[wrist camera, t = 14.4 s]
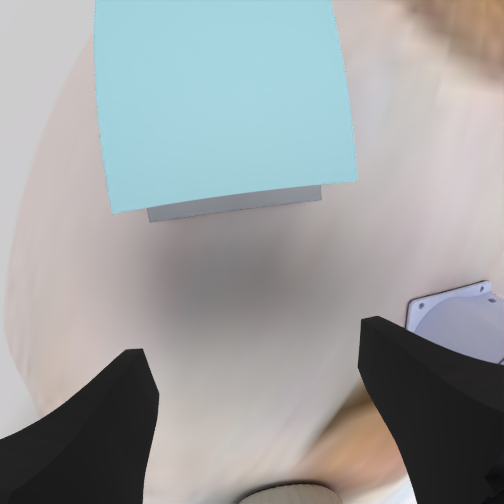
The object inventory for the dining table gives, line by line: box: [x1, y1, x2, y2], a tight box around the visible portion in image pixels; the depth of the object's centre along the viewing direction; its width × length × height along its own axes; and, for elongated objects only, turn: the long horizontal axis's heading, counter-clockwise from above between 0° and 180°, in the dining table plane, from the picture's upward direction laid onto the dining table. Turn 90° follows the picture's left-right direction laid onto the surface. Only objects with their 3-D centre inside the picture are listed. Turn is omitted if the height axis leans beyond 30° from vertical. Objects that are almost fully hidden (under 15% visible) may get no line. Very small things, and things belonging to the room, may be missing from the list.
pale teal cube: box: [94, 0, 357, 214], centre depth 8 cm, size 5×5×5 cm
